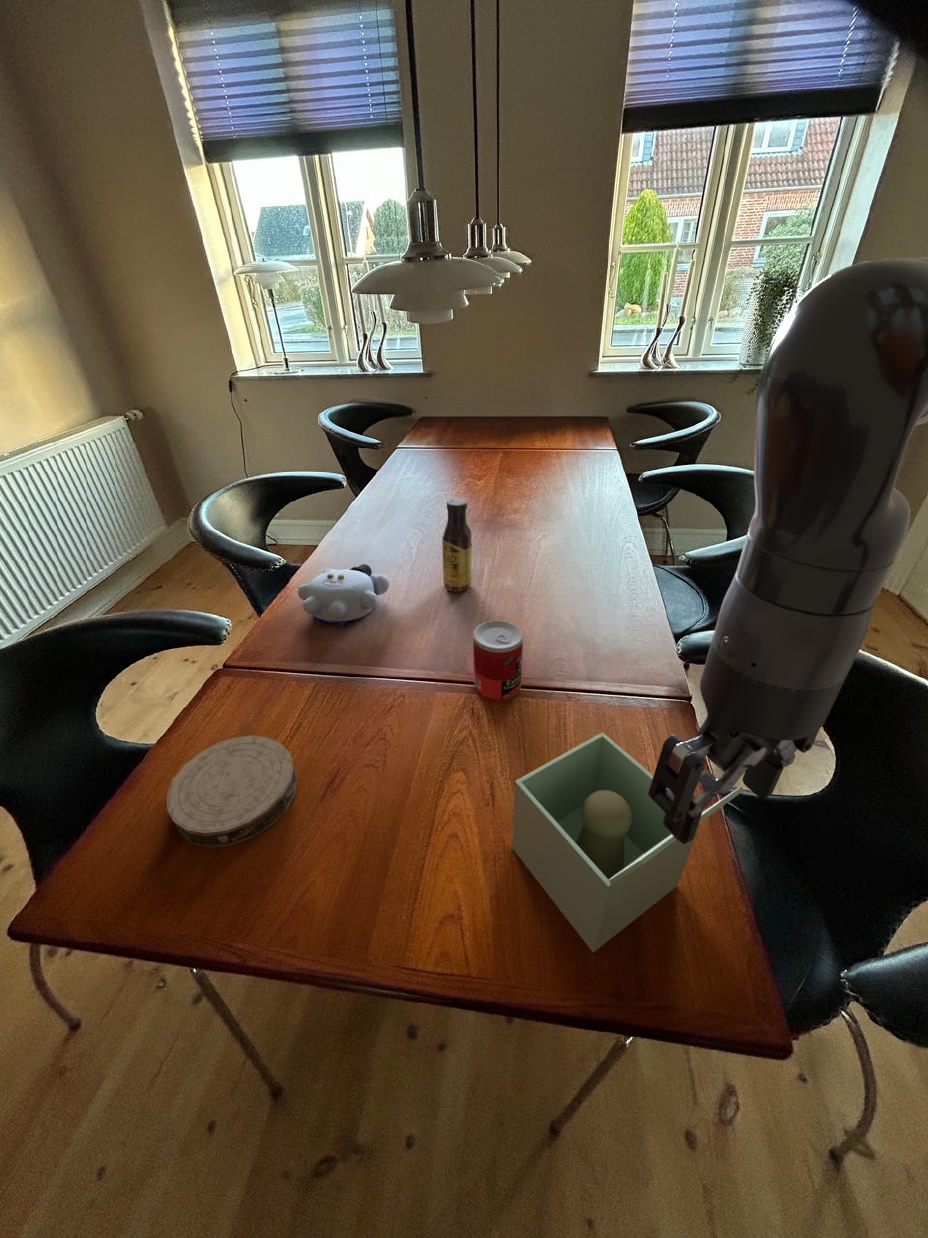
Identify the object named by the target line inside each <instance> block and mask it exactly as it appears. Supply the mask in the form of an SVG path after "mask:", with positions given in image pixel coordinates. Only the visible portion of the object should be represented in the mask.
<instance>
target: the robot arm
mask: <svg viewBox="0 0 928 1238" xmlns="http://www.w3.org/2000/svg"><path fill="white" fill-rule="evenodd" d="M758 379H759V380H758V385H757V391H756V397H755V398H756V399H755V409H754V449H753V450H754V453H753V454H754V456H753V457H754V459H753V461H754V462H753V481H754V482H753V484H754V500H755V501H754V502H755V504H754V505H755V506H754V511H753V514H752V516H751V519H750V522H749V526H748V529H747V533H746V536H745V540H744V543H743V546H742V550H741V553H740V557H739V561H738V564H737V568H736V570H735V573H734V575H733V577H732V580H731V582H730V584H729V587H728V589H727V591H726V593H725V595H724V597H723V601H722V603H721V606H720V609H719V612H718V613H719V614H718V617H717V620H716V625H715V628H714V631H713V635H712V638H711V642H710V645H709V649H708V652H707V655H706V659H705V663H704V666H703V670H702V674H701V677H700V681H699V690H700V694H701V698H702V700H703V702H704V705H705V709H706V714H707V715H706V717H705V719H704V721H703V722H702V724H701V726H700V728H699V729H698V731H697V733H696V737H693V738H691V739H689V740H687V741H684V740H683V739H682V738H681V737H679V735H677V734H676V733H675V734H674V733H673V734H671V735H670V736H668V737H667V738H666V739H665V740H664V741H663V744H662V747H661V751H660V754H659V757H658V760H657V763H656V766H655V770H654V773H653V779H652V783H651V786H650V789H649V792H648V795H649V797H650V798H651V799H652V800H653V801H654V802H655V803H656V804H657V805H658V806H659V807H660V808H661V809H662V810H663V811H664V812H665V814H666V815H665V817H664V820H663V825H664V827H665V828H666V829H667V830H668V831H669V832H670V833H671V834H672V835H673V836H674V837H675V838H676V839H677V840H679V841H680V842H681V843H683V844H686V843H688V842H690V841H691V840H693V838H694V835H695V832H696V829H697V826H698V824H699V821H700V818H701V815H702V812H703V811H704V810H705V809H706V807H707V806H708V805H709V804H710V802H711V801H712V800H713V798H714V797H715V796H717V795H719V796H726V795H728V793H729V792H730V791H731V789H732V788H733V787H734V786H735V784H737V782H738V781H739V780H740V778H741V777H742V776H743V777H742V782H743V785H744V786H745V787H746V788H748V790H750V791H751V792H752V793H753V794H755V795H756V797H758V798H759V799H761V800H766V799H767V798H769V797H770V796H772V795H773V793H774V791H775V789H776V786H777V784H778V782H779V779H780V777H781V775H782V773H783V771H784V768H787V767H789V766H791V765H792V764H793V763H794V762H795V758H796V754H795V753H796V752H797V751H799V752H801V753H802V754H805V753H807V752H808V751H810V750H811V749H812V748H813V745H814V743H815V741H816V738H817V736H818V733H819V732H820V729H821V728H822V727H823V726H824V725H825V723H826V720H827V718H828V716H829V714H830V712H831V710H832V708H833V706H834V704H835V702H836V699H837V697H838V696H839V693H840V692H841V689H842V687H843V685H844V683H845V681H846V679H847V676H848V675H849V672H850V670H851V668H852V666H853V665H854V662H855V660H856V658H857V656H858V654H859V652H860V650H861V648H862V645H863V643H864V640H865V638H866V635H867V631H868V628H869V624H870V620H871V616H872V613H873V610H874V607H875V604H876V602H877V599H878V598H879V595H880V593H881V591H882V589H883V587H884V585H885V583H886V581H887V578H888V577H889V574H890V572H891V570H892V568H893V566H894V563H895V562H896V560H897V558H898V556H899V554H900V552H901V549H902V547H903V544H904V541H905V539H906V537H907V534H908V531H909V526H910V522H911V506H910V504H909V502H908V499H907V498H906V496H904V494H903V493H902V492H901V491H900V490H898V489H897V488H896V487H895V485H896V481H897V479H898V478H897V477H898V474H899V472H900V468H901V464H902V461H903V458H904V454H905V452H906V448H907V445H908V443H909V440H910V438H911V436H912V433H914V430H915V428H916V427H917V426H920V425H924V424H928V256H917V257H916V256H915V257H890V258H889V257H888V258H880V259H878V258H877V259H871V260H866V261H861V262H858V263H855V264H852V265H849V266H846V267H844V268H841V269H839V270H836V271H835V272H833V273H831V274H829V275H828V276H826V277H825V278H823V279H822V280H821V281H819V282H818V283H816V284H814V286H812V288H810V289H809V290H808V291H807V292H805V294H804V295H802V297H800V298H799V300H798V301H797V303H795V305H794V306H793V307H792V308H791V310H790V311H789V313H788V314H787V315H786V317H785V318H784V319H783V321H782V323H781V324H780V327H779V328H778V330H777V332H776V334H775V336H774V337H773V340H772V342H771V344H770V345H769V348H768V351H767V353H766V356H765V358H764V361H763V364H762V368H761V372H760V375H759V378H758ZM706 757H707V758H708V760H709V761H711V762H712V763H713V764H714V765H715V766H716V767H717V768H719V769H720V771H722V772H724V773H723V774H722V775H721V777H720V778H717V777H716V776H715V775H714V774H713V773H712V772H711V771H710V770H708V769H707V768H706V767H705V765H706V762H707V761H706V759H705V758H706ZM699 782H700V784H701V785H702V789H701V790H700V791H699V792H698V794H696V796H695V795H694V794H695V792H696V790H697V786H698V784H699Z"/></svg>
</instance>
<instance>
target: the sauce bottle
mask: <svg viewBox="0 0 928 1238" xmlns="http://www.w3.org/2000/svg"><path fill="white" fill-rule="evenodd" d="M467 509H468V501H467V500H466V499H464V498H461V497H452V498H450V499H448V500H447V501H446V510H447V521H446V525H445V528H444V531H443V535H442V538H441V543H442V544H441V548H442V549H441V550H442V580H443V585H444V587H445V589H446V590H447V591H451V592H454V593H460V592H464V591H467V590H468V589H469V588H470V587H471V585H472V576H473V574H472V572H473V571H472V570H473V569H472V566H473V565H472V563H473V543H472V534H473V533H472V530H471V528H470V526H469V525H468V523H467Z"/></svg>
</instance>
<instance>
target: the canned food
mask: <svg viewBox="0 0 928 1238" xmlns="http://www.w3.org/2000/svg"><path fill="white" fill-rule="evenodd" d="M523 635H524V634H523V631H522V630H521V628H520V627H518V626H517V625H515V624H514V623H511V622H509V621H505V620H489V621H485V622H482V623H480V624H478V626H476V627H475V628H474V630H473V635H472V656H473V683H474V688H475V690H476V692H477V693H478V695H479V696H480V697H482V698H484V699H486V700H487V701H491V702H497V703H498V702H499V703H501V702H508V701H510V700H512V699H515V697H517V695H518V694H519V692H520V691H521V688H522V676H523V675H522V674H523V654H524V653H523V652H524V636H523Z"/></svg>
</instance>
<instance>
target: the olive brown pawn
mask: <svg viewBox="0 0 928 1238" xmlns="http://www.w3.org/2000/svg"><path fill="white" fill-rule="evenodd" d="M582 818H583V822H584V825H583V827H582V830H581V832H580V835H579V837H578V840H577V842H576V844H577V846H578V847H579V848H580V849H581V850H582V851H583V852H584V853H585V854H586V856H587V857H588V858H589V859H590V860H591V861H592V862H593V863H594V865H595V866H596V867H597V868H598V869H599V870H600V871H601V872H602V873H603V875H604V876H605V877H606V878H607V879H608V880H609V879H610V878H612V877H613V876H614V875H616V874H617V873H618V872H620V871H621V870H623V869H624V835H625V834H626V832H627V831H628V830H629V828H630V826H631V822H632V814H631V808H630V806H629V805H628V803H627V801H626V800H625V799H624V798H623V797H622V796H621V795H619V794H617V793H616V792H613V791H610V790H600V791H596V792H594V793H592V794H590V795H589V796H588V797H587V798H586V800H585V801H584V804H583V807H582Z"/></svg>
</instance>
